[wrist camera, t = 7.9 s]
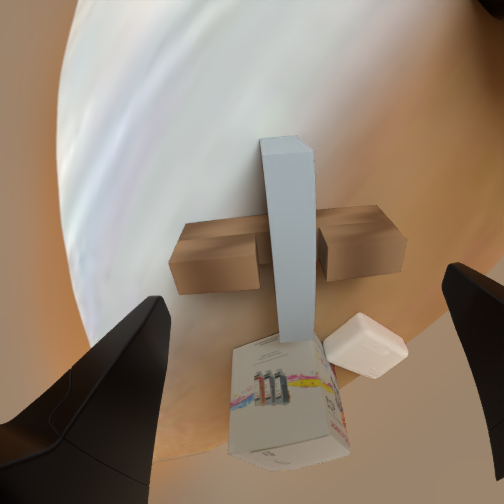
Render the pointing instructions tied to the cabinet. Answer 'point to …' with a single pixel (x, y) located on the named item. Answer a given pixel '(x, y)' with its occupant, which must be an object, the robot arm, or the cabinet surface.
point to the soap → (364, 347)
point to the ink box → (285, 405)
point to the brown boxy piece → (260, 252)
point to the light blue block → (292, 232)
